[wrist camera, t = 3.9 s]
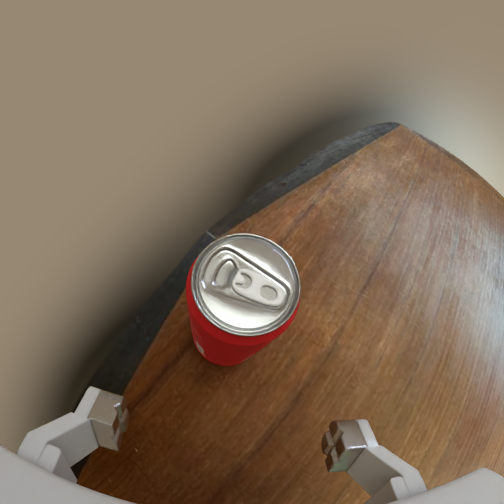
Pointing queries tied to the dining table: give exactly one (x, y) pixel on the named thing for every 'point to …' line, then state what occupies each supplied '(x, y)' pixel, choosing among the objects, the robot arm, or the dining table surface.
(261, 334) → the beverage can
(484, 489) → the robot arm
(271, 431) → the dining table surface
